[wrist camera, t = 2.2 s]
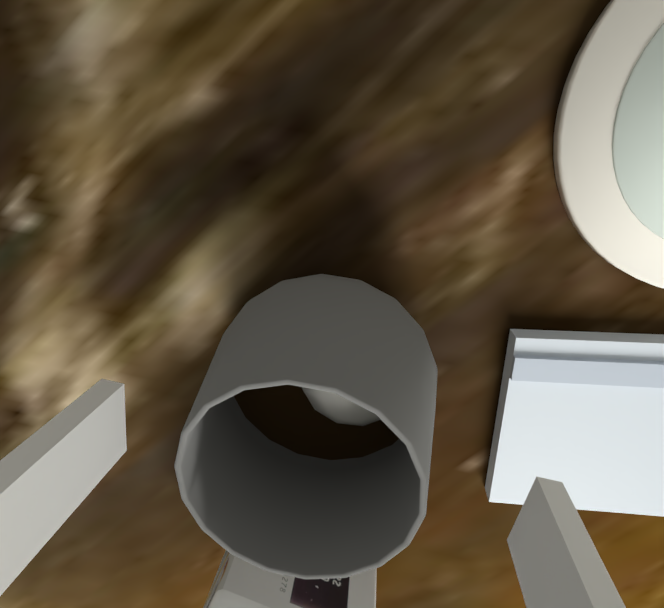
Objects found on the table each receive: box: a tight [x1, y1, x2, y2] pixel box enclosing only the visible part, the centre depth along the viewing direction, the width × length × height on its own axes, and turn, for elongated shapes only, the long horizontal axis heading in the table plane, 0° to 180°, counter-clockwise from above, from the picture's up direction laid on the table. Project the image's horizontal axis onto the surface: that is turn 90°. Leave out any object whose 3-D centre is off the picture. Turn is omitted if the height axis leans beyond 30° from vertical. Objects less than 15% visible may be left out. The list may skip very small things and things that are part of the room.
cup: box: [174, 274, 437, 579], centre depth 17 cm, size 10×9×10 cm
